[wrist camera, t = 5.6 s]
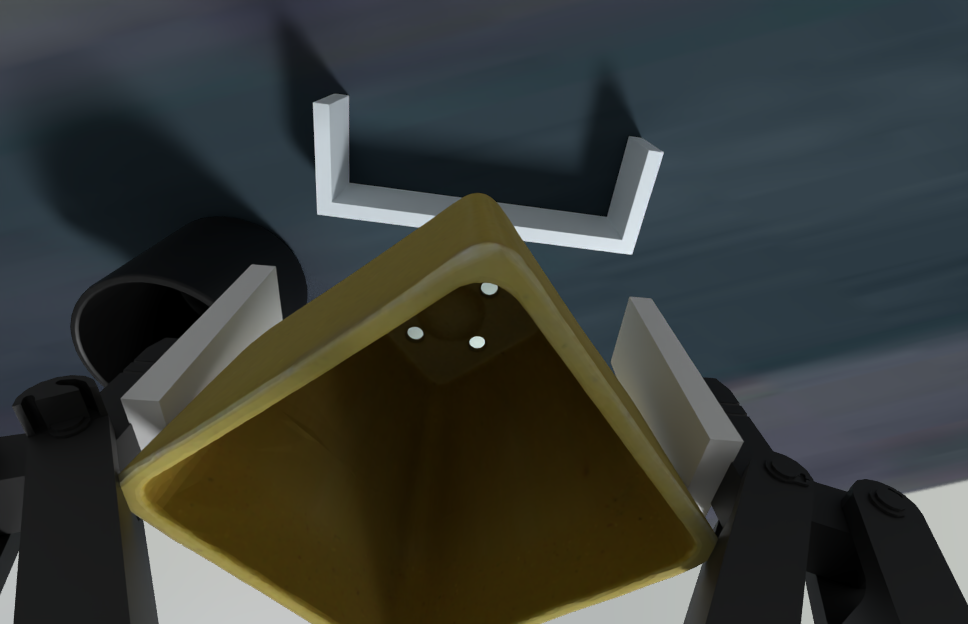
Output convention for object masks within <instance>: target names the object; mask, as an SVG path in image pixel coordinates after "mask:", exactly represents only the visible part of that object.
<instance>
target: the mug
mask: <svg viewBox="0 0 968 624" xmlns="http://www.w3.org/2000/svg"><path fill="white" fill-rule="evenodd" d="M252 264H254V265H265V266H276V272H277V280H278V288H279V296H280V303H281V311H282V319H283V320H284V319H285V318H287V317H288V316H290V315H291V314H293V313H294V312H296V311H297V310H299V309H300V308H302V307H303V306H305V305H306V303H307V285H306V280H305V276H304V273H303V270H302V268H301V266H300V264H299V262H298V260H297V259H296V257H295V256H294V254H293V253H292V252H291V250H290V249H289V248H288V247H287V246H286V245H285V244H284V243H283V242H282V241H281V240H280V239H278V238H277V237H276V236H275V235H273V234H272V233H271V232H269V231H267V230H265V229H264V228H262V227H260V226H258V225H256V224H253V223H251V222H248V221H245V220H241V219H237V218H230V217H207V218H201V219H198V220H196V221H193V222H191V223H189V224H187V225H185V226H184V227H182V228H180V229H179V230H177V231H176V232H174V233H173V234H171V235H170V236H168V237H166V238H165V239H163V240H162V241H160V242H159V243H157V244H156V245H154V246H152V247H151V248H149V249H148V250H146V251H145V252H143V253H142V254H140V255H139V256H137V257H135V258H134V259H132V260H131V261H129V262H128V263H126V264H125V265H123V266H121V267H120V268H118V269H117V270H115V271H114V272H112V273H111V274H109V275H107V276H106V277H104V278H103V279H101V280H100V281H98V282H97V283H95V284H94V285H92V286H91V287H89V288H88V289H87V290H86V291H85V292H84V293H83V294H82V295H81V297H80V298H79V300H78V301H77V303H76V304H75V307H74V310H73V313H72V317H71V326H70V328H71V335H72V340H73V343H74V346H75V349H76V352H77V353H78V355H79V357H80V359H81V361H82V362H83V364H84V365H85V367H86V368H87V370H88V371H89V372H90V373H91V374H92V376H93V377H94V378H95V379H96V380H97V381H98V382H99V383H100V384H101V385H102V386H104V387H106V386H107V385H108V384H109V383H110V382H111V381H112V380H113V379H115V378H116V377H117V376H118V375H119V374H120V373H123V370H124V369H125V368H126V367H127V366H128V365H129V364H130V363H131V362H132V363H133V362H134V360H135V359H136V358H137V357H138V356H139V355H140V354H141V353H142V352H143V351H144V350H145V349H146V348H147V347H149V346H151V345H153V344H155V343H157V342H159V341H161V340H162V339H164V338H178V339H179V338H180V337H181V336H182V335H183V334H184V333H185V332H186V331H187V330H188V329H189V328H190V327H191V326H192V325H193V324H194V323H195V322H196V321H197V320H198V319H199V318H200V317H201V316H202V315H203V314H204V313H205V312H206V311H207V310H208V309H209V308H210V306H211V305H212V304H213V303H214V302H215V301H216V300H217V299H218V298H219V297H220V296H221V295H222V294H223V293H224V292H225V291H226V290H227V289H228V288H229V287H230V286H231V285H232V284H233V283H234V282H235V281H236V280H237V279H238V278H239V277H240V276H241V275H242V274H243V273H244V272H245V271H246V270H247V269H248V268H249V267H250V266H251V265H252Z"/></svg>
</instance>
